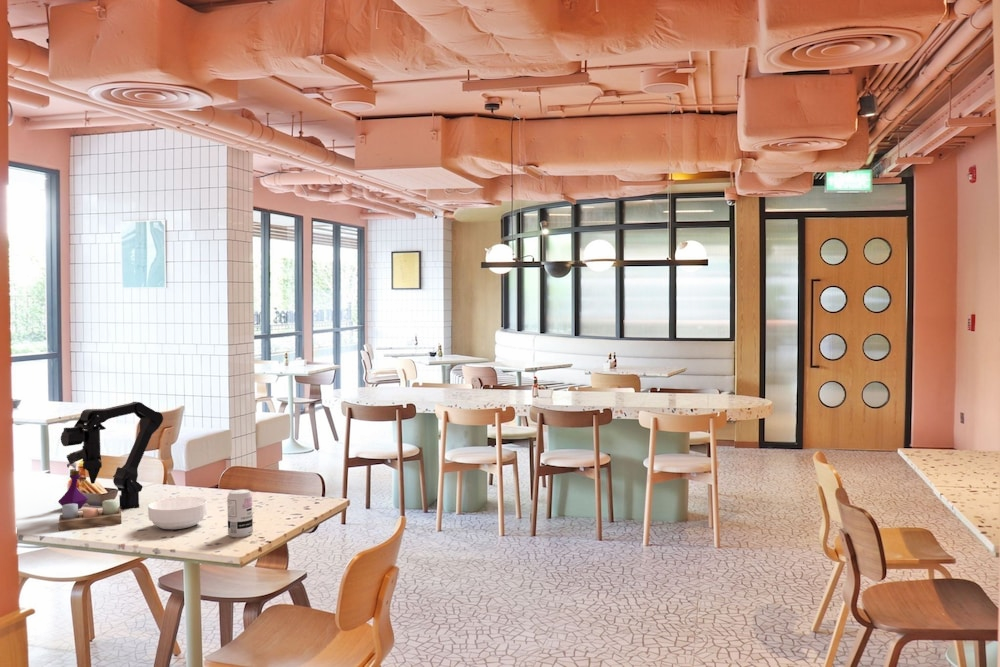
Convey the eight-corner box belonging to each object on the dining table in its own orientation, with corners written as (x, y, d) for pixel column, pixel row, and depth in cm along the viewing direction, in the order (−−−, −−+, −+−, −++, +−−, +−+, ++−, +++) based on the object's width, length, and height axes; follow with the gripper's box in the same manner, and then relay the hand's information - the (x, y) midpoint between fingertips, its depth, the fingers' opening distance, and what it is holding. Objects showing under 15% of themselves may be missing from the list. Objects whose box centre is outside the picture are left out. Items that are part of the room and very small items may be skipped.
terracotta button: (98, 520, 298) (97, 507, 298) (98, 523, 293) (98, 510, 293) (83, 522, 295) (82, 509, 295) (82, 525, 291) (82, 512, 291)
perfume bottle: (88, 506, 319) (87, 461, 318) (72, 511, 312) (71, 465, 311) (73, 505, 321) (72, 460, 321) (57, 509, 314) (56, 464, 314)
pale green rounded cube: (117, 511, 301) (117, 498, 300) (117, 514, 296) (117, 501, 296) (102, 513, 298) (102, 500, 298) (102, 516, 294) (102, 503, 294)
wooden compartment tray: (120, 516, 304) (120, 508, 304) (121, 523, 294) (121, 515, 293) (60, 522, 295) (59, 514, 295) (59, 530, 284) (58, 522, 284)
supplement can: (231, 531, 282) (230, 489, 281) (255, 531, 282) (254, 488, 282) (225, 538, 274) (224, 494, 273) (250, 537, 274) (249, 493, 274)
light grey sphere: (78, 515, 295) (77, 502, 295) (78, 518, 290) (77, 505, 290) (62, 517, 292) (62, 504, 292) (62, 520, 288) (62, 507, 288)
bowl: (142, 525, 291) (142, 501, 291) (198, 516, 303) (198, 494, 303) (156, 537, 276) (155, 512, 275) (214, 527, 287) (213, 504, 287)
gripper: (68, 440, 310) (69, 481, 311) (67, 448, 294) (68, 490, 294) (100, 438, 315) (101, 478, 316) (101, 445, 299) (102, 487, 299)
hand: (92, 483), depth 306 cm, fingers closed
